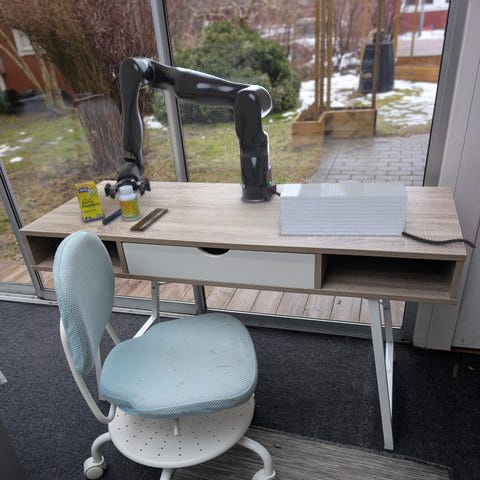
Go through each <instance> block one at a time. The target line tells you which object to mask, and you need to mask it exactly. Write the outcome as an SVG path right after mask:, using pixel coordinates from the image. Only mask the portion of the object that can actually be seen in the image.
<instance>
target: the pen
mask: <svg viewBox="0 0 480 480" xmlns="http://www.w3.org/2000/svg"><path fill="white" fill-rule="evenodd" d="M121 215H122V211H121V207H120V208H119V209H118V210H116V211H114V212H113V213H111V214H110V215H108V216H106V217H104V219H102V221H101V223H102V225H103V226H107V225H108V224H110V223H111V222H113V221H114V220H115V219H117V218H118V217H120V216H121Z"/></svg>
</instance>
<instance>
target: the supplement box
mask: <svg viewBox="0 0 480 480" xmlns="http://www.w3.org/2000/svg"><path fill="white" fill-rule="evenodd" d="M73 186H74V190H75V194H76V197H77V201H78V205H79V210H80V214H81V217H82V219H83V221H84V222H85V223H89V222H94V221H98V220H104V219H105V217H104V214H103V213H104V212H103V209H102V204H101V200H100V196H99V192H98V187H97V184H96V183H95V182H94V180H89V181H83V182H79V183H74V184H73Z"/></svg>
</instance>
